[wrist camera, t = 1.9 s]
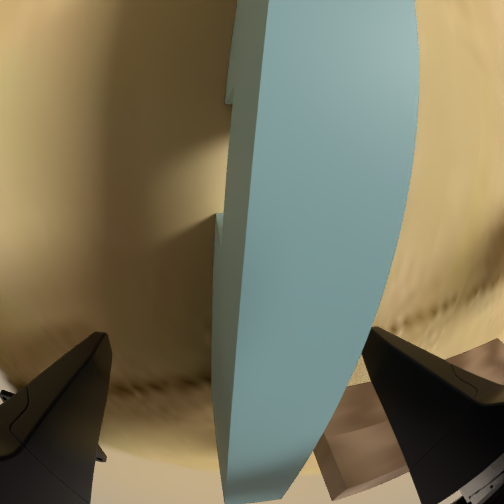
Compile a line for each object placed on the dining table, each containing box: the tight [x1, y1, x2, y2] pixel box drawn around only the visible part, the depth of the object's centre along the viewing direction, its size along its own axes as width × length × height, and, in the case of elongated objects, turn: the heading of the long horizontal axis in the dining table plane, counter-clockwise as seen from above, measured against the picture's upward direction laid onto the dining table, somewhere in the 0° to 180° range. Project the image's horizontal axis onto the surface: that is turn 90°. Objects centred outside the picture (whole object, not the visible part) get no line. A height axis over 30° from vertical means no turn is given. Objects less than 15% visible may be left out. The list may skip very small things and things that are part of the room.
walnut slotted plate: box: [313, 338, 504, 501], centre depth 13 cm, size 20×2×6 cm, turn 85°
